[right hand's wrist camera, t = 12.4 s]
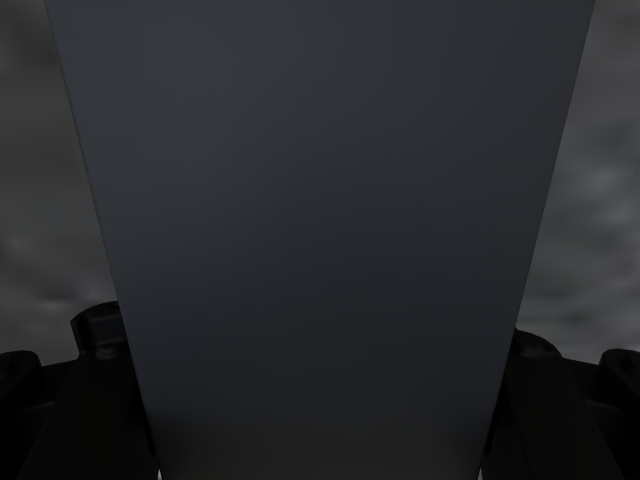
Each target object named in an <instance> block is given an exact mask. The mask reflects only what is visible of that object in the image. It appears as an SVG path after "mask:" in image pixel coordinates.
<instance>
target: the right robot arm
mask: <svg viewBox="0 0 640 480" xmlns="http://www.w3.org/2000/svg"><path fill="white" fill-rule="evenodd" d="M70 324H71V327H72V330H73V334H74V337H75V340H76V343H77V346H78V350H79V353H80V354H79V356H78V358H77V359H76V360H72V361H67V362H62V363H57V364H52V365H47V366H41V363H40V360H39V358H38V355H37V354H35V353H34V352H32V351H24V350H20V351H13V352H6V353H2V354H1V355H0V480H158V473H159V465H158V461H157V457H156V453H155V449H154V445H153V441H152V437H151V433H150V429H149V425H148V420H147V416H146V412H145V408H144V404H143V400H142V396H141V392H140V388H139V384H138V380H137V376H136V372H135V368H134V364H133V359H132V355H131V351H130V347H129V343H128V339H127V335H126V331H125V327H124V323H123V319H122V315H121V311H120V307H119V303H118V301H111V302H107V303H102V304H99V305H96V306H93V307H91V308H88V309H86V310H84V311H83V312H81V313H79V314H78V315H76V316H75V317H74V318H73V319H72V320H71V321H70ZM481 472H482V479H483V480H640V353H639V352H637V351H633V350H625V349H609V350H607V351H606V352H604V353H603V354H602V357H601V359H600V362H599V365H596V364H591V363H586V362H581V361H576V360H571V359H566V358H562V356H561V354H560V352H559V351H558V350H557V349H556V347H555V346H554V345H552V344H551V343H549V342H548V341H547V340H545V339H543V338H541V337H539V336H537V335H534V334H532V333H528V332H524V331H520V330H517V328H516V327H515V329H514V333H513V337H512V341H511V345H510V349H509V353H508V357H507V361H506V366H505V370H504V374H503V378H502V382H501V386H500V390H499V394H498V398H497V402H496V406H495V410H494V414H493V418H492V423H491V427H490V431H489V435H488V439H487V443H486V447H485V451H484V455H483V459H482V463H481Z"/></svg>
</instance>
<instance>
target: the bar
mask: <svg viewBox="0 0 640 480" xmlns="http://www.w3.org/2000/svg"><path fill="white" fill-rule="evenodd" d="M44 2H45V6H46V10H47V14H48V18H49V22H50V26H51V30H52V34H53V38H54V42H55V47H56V51H57V55H58V59H59V63H60V67H61V71H62V75H63V79H64V83H65V87H66V91H67V95H68V99H69V103H70V107H71V112H72V116H73V120H74V124H75V128H76V132H77V136H78V140H79V144H80V148H81V152H82V156H83V160H84V164H85V168H86V173H87V177H88V181H89V185H90V189H91V193H92V197H93V201H94V205H95V209H96V213H97V217H98V221H99V225H100V229H101V233H102V238H103V242H104V246H105V250H106V254H107V258H108V262H109V266H110V270H111V274H112V278H113V282H114V286H115V290H116V294H117V299H118V303H119V307H120V311H121V315H122V319H123V323H124V327H125V331H126V335H127V339H128V343H129V347H130V351H131V355H132V359H133V364H134V368H135V372H136V376H137V380H138V384H139V388H140V392H141V396H142V400H143V404H144V408H145V412H146V416H147V420H148V425H149V429H150V433H151V437H152V441H153V445H154V449H155V453H156V457H157V461H158V465H159V469H160V473H161V477H162V480H478V476H479V471H480V467H481V463H482V459H483V455H484V451H485V447H486V443H487V439H488V435H489V431H490V427H491V423H492V418H493V414H494V410H495V406H496V402H497V398H498V394H499V390H500V386H501V382H502V378H503V374H504V370H505V366H506V361H507V357H508V353H509V349H510V345H511V341H512V337H513V333H514V329H515V325H516V321H517V317H518V313H519V309H520V304H521V300H522V296H523V292H524V288H525V284H526V280H527V276H528V272H529V268H530V264H531V260H532V256H533V252H534V247H535V243H536V239H537V235H538V231H539V227H540V223H541V219H542V215H543V211H544V207H545V203H546V199H547V194H548V190H549V186H550V182H551V178H552V174H553V170H554V166H555V162H556V158H557V154H558V150H559V146H560V142H561V137H562V133H563V129H564V125H565V121H566V117H567V113H568V109H569V105H570V101H571V97H572V93H573V89H574V85H575V80H576V76H577V72H578V68H579V64H580V60H581V56H582V52H583V48H584V44H585V40H586V36H587V32H588V28H589V23H590V19H591V15H592V11H593V7H594V3H595V0H44Z"/></svg>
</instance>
